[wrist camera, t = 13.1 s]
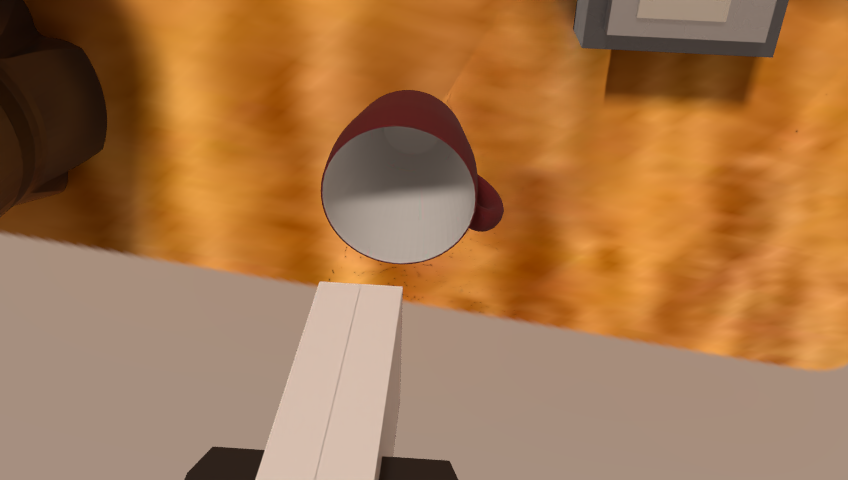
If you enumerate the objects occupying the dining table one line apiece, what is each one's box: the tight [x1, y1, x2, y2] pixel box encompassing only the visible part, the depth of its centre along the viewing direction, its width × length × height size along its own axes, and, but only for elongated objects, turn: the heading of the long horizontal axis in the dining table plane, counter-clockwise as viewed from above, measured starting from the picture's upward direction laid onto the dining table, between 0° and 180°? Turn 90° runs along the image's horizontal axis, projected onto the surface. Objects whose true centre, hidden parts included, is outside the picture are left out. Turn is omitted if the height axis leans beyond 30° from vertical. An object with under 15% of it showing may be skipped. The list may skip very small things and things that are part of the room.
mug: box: [321, 90, 504, 264], centre depth 42 cm, size 11×8×10 cm
